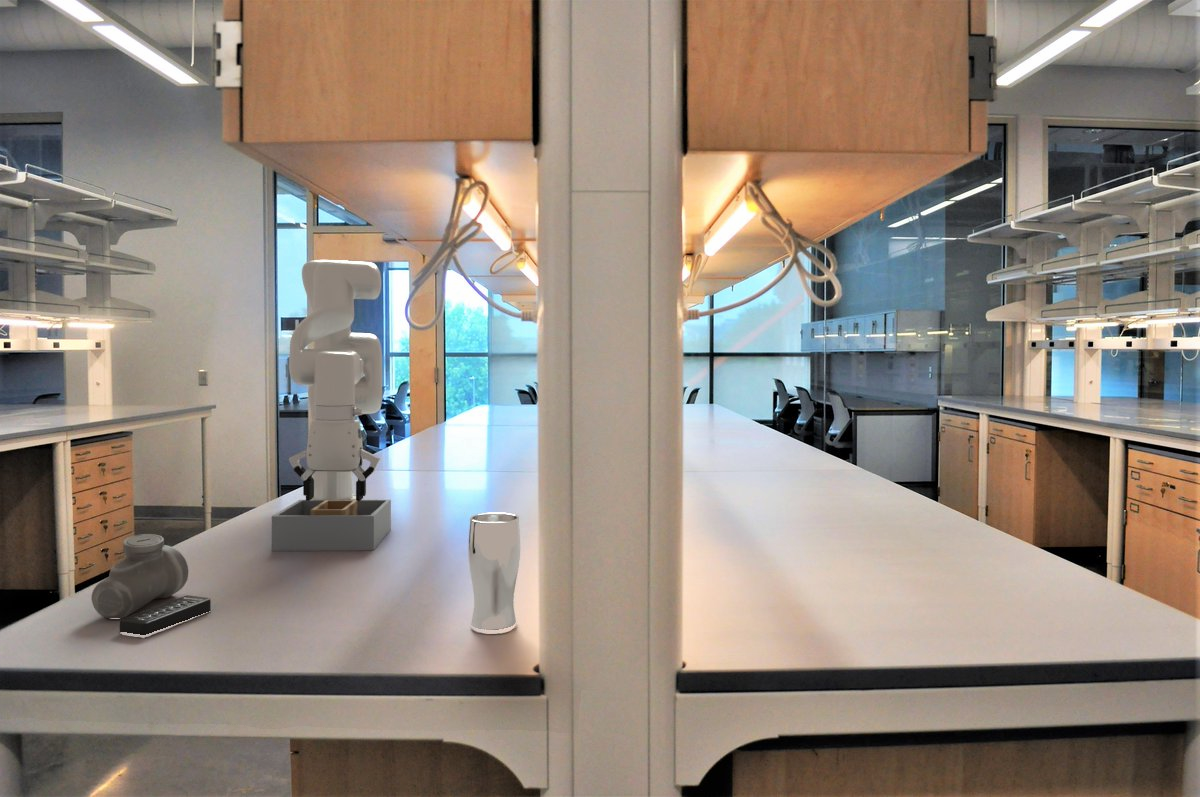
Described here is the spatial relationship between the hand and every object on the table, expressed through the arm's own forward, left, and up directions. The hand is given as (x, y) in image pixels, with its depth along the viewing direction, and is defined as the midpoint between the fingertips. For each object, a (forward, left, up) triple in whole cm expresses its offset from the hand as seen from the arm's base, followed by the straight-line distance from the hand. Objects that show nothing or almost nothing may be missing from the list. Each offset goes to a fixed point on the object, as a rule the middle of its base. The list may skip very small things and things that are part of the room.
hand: (334, 499), depth 147 cm
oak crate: (+1, 0, -7) cm, 7 cm away
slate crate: (+1, 0, -8) cm, 8 cm away
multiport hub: (+47, -10, -9) cm, 49 cm away
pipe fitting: (+41, -17, -8) cm, 45 cm away
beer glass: (+51, +34, -8) cm, 62 cm away
